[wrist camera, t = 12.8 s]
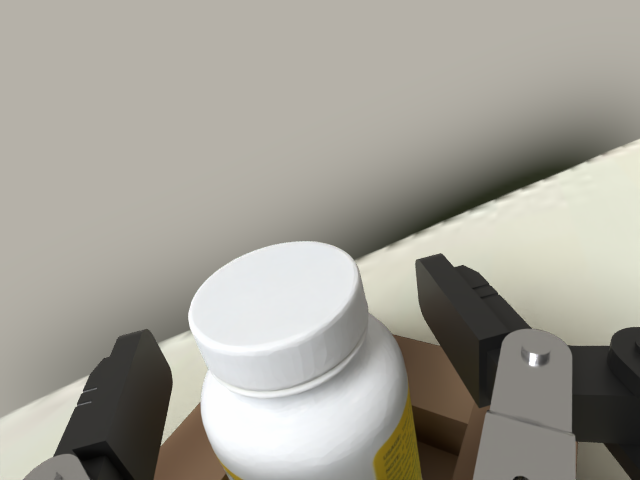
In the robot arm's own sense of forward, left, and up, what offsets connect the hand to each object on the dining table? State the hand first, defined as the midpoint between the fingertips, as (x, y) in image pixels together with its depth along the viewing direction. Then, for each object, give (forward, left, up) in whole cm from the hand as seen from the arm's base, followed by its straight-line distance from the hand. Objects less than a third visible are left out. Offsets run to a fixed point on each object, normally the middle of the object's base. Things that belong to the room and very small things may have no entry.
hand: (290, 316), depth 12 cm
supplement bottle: (-1, +1, -7) cm, 8 cm away
